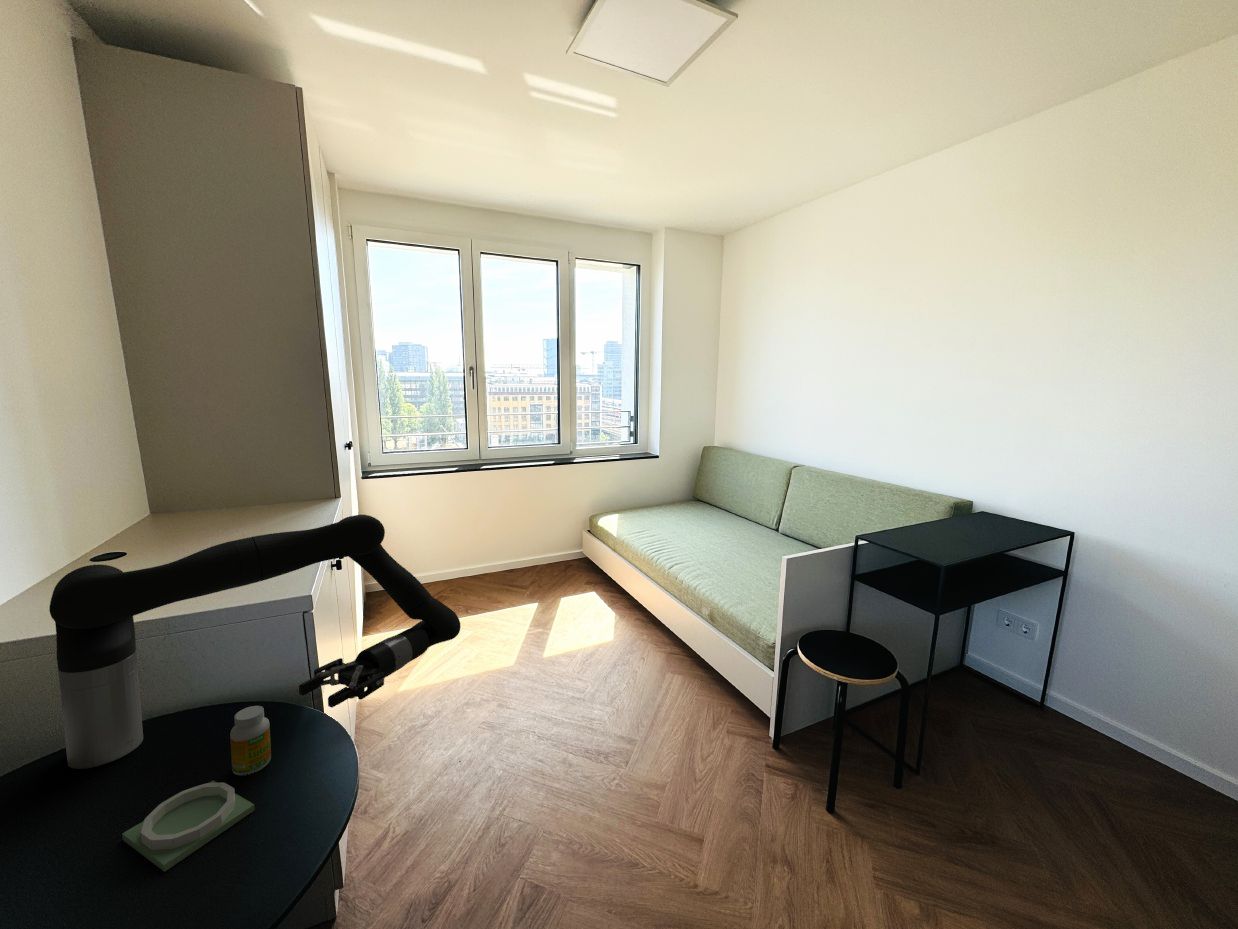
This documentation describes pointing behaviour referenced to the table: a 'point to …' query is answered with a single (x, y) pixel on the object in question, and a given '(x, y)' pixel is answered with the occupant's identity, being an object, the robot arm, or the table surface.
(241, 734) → the supplement bottle
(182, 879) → the table surface
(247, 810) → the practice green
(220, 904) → the table surface
